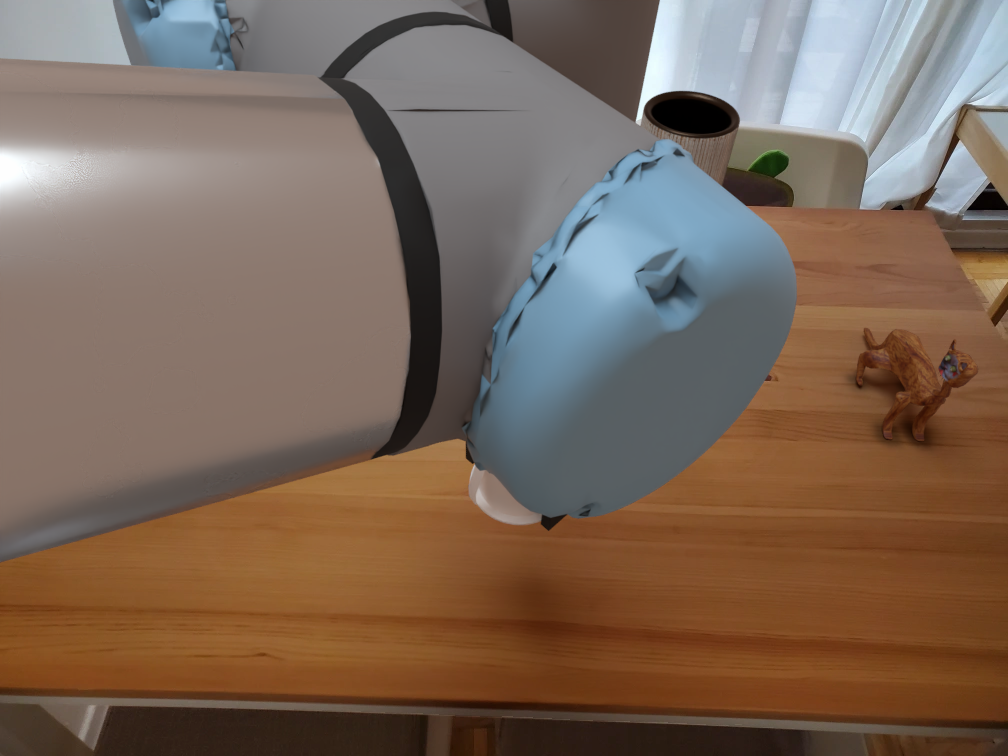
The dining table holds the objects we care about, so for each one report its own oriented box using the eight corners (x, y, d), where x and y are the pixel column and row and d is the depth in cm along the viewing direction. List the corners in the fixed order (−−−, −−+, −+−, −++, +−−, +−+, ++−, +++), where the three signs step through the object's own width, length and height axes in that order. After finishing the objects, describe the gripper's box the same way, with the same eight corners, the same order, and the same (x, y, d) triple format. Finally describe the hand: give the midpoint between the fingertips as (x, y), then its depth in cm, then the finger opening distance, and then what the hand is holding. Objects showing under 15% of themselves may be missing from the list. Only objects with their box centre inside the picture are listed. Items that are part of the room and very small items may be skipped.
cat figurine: (833, 334, 86) (880, 240, 76) (888, 336, 86) (943, 243, 76) (878, 455, 74) (941, 363, 64) (943, 459, 74) (1017, 367, 63)
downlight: (534, 430, 56) (544, 337, 48) (591, 494, 52) (611, 403, 45) (445, 476, 53) (442, 383, 45) (499, 548, 49) (505, 460, 41)
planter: (686, 257, 95) (730, 91, 78) (699, 308, 88) (750, 137, 72) (611, 255, 95) (638, 88, 78) (617, 306, 88) (649, 134, 72)
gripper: (759, 277, 32) (660, 540, 49) (462, 114, 42) (464, 382, 59) (657, 357, 29) (588, 612, 46) (357, 159, 38) (391, 431, 55)
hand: (518, 482), depth 52 cm, fingers closed on downlight, 7 cm apart
